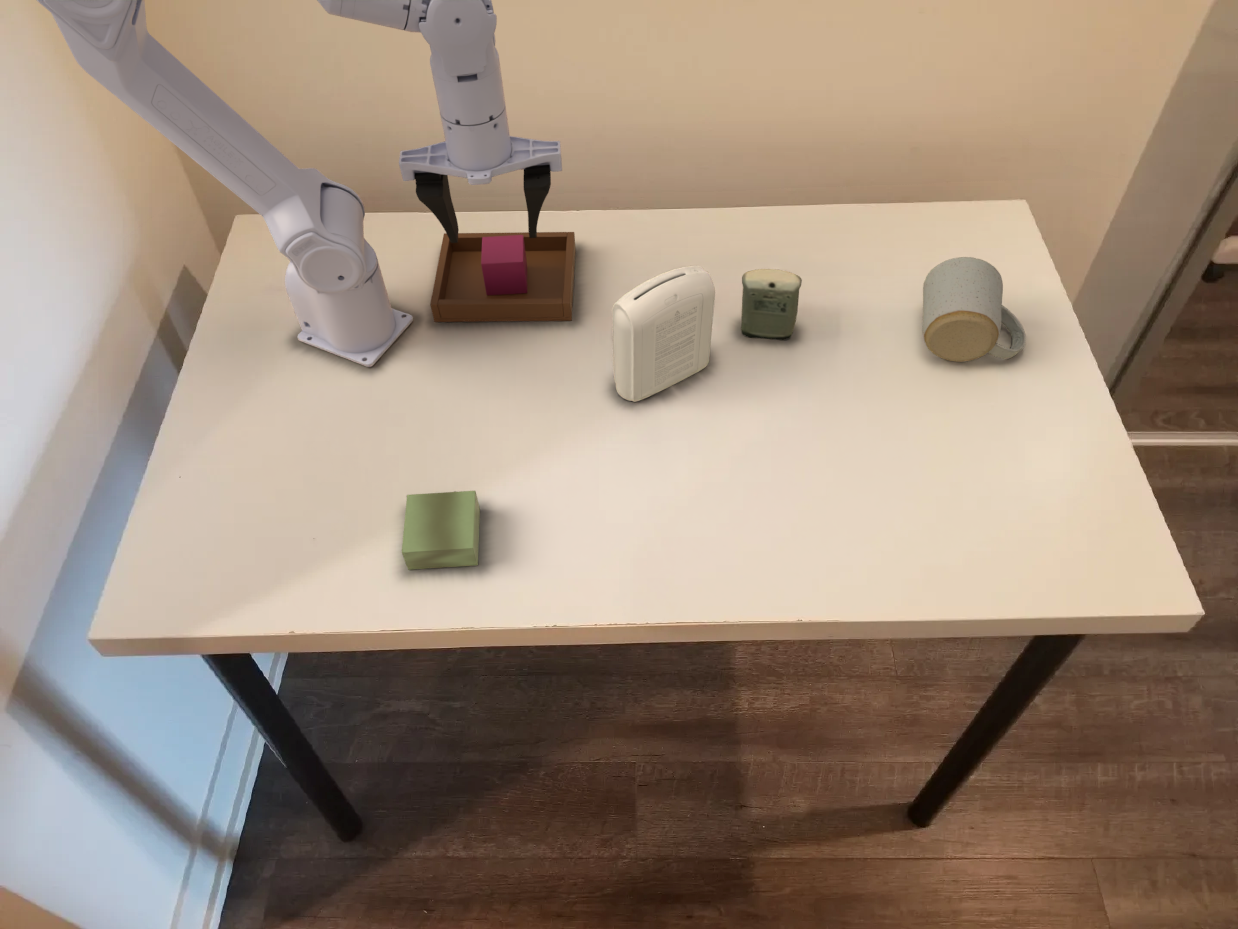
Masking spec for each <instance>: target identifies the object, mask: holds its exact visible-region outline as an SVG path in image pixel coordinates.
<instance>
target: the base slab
mask: <svg viewBox="0 0 1238 929" xmlns="http://www.w3.org/2000/svg"><path fill="white" fill-rule="evenodd" d="M405 502H406V503H405V513H404V524H403V534H402V544H401V555H402V558H403V560H404V562H405V565H406V568H407V570H408V571H410V570H423V569H424V570H425V569H426V570H427V569H440V568H441V569H442V568H443V569H444V568H457V567H459V568H460V567H473V566H478V565H479V545H480V543H479V542H480V518H481V516H480V514H481V513H480V512H481V508H480V504H479V499H478V496H477V491H476V490H463V491H462V490H461V491H447V492H445V491H444V492H429V493H414V494H412V493H411V494H406V500H405Z"/></svg>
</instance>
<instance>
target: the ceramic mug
mask: <svg viewBox="0 0 1238 929" xmlns="http://www.w3.org/2000/svg"><path fill="white" fill-rule="evenodd" d="M1003 291H1004V282H1003V278H1002V275H1001V273H1000V272H999V270H998V269H997V268H996V267H995V265H993V264H992V263H990V262H988V261H986V260H983V259H982V258H976V257H972V256H961V257H960V256H959V257H953V258H949V259H946V260H944V261H942V262H940V263H938V264H936V265H935V266H934V267H933V268H932V269H930V271H929V272H928V273H927V275H926V276H925V278H924V281H923V285H922V322H921V324H922V325H921V328H922V329H921V331H922V337H923V339H924V343H925V345H926V347H927V349H928V351H930V352H931V353H932V354H933V355H934V356H936V357H938V358H940V359H943V360H946V361H950V362H957V363H958V362H960V363H961V362H970V361H974V360H977V359H980V358H982V357H984V356H985V355H987V354H988V355H990V356H992V357H995V358H998V359H1002V360H1008V359H1011V358H1013V357H1014V356H1016V355H1017V354H1018V353H1020V352H1021V351H1022V350H1023V349H1024V348H1025V345H1026V340H1027V339H1026V338H1027V336H1026V332H1025V329H1024V326H1023V325H1022V323H1021V321H1020V320H1019V318H1017V317H1016V315H1015V314H1014V313H1013V312H1011V310H1009V308H1007V307H1006V306H1004V305H1003ZM1002 325H1003V326H1004V327H1005V328H1006V330H1007V331H1008V333H1009V335H1010V336H1011V346H1010V348H1009V347H1006V346H1003V345H1002V344H1000V343H998V340H999V338H1000V334H1001V330H1002Z"/></svg>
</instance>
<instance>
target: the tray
mask: <svg viewBox="0 0 1238 929" xmlns="http://www.w3.org/2000/svg"><path fill="white" fill-rule="evenodd" d="M513 235H523V236H524V244H525V252H526V260H527V293H522V294H504V295H486V289H485V283H484V278H483V272H482V266H481V255H482V237H495V236H513ZM576 250H577V248H576V236H575V231H539V232H538V231H537V237H536V238H529V231H528V232H527V231H525V232H523V231H522V232H520V231H519V232H458V243H451V242H450V240H449V237H448V235H447V233H446V232H444V233H443V237H442V240H441V246H440V251H439V256H438V262H437V265H436V266H437V267H436V273H435V277H434V281H433V282H434V283H433V288H432V291H431V292H432V293H431V299H430V303H429V305H430V310H431V314H432V318H433V322H434V323H456V322H457V323H458V322H459V323H461V322H462V323H464V322H465V323H467V322H468V323H471V322H475V323H476V322H567V321H568V322H570V321H571V322H572V319H573V318H572V317H573V305H574V304H573V303H574V302H573V301H574V284H575V266H576V265H575V264H576V252H577V251H576Z"/></svg>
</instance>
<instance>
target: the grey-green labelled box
mask: <svg viewBox="0 0 1238 929" xmlns="http://www.w3.org/2000/svg"><path fill="white" fill-rule="evenodd" d="M802 282H803V279H802V278H801V276H800V275H798V274H797V273H793V272H791V271H787V270H783V269H776V268H775V269H774V268H758V269H757V268H756V269H753V270H749V271H746V272H744V273H743V274H742V275H741V284H742V295H741V319H740V320H741V321H740V322H741V323H740V331H741V334H742V335H743V336H744V337H747V338H751V339H766V340H780V341H787V340H789V339H791V338H792V335H793V333H794V329H795V326H796V321H797V316H798V309H799V298H800V288H801V287H802Z"/></svg>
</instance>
